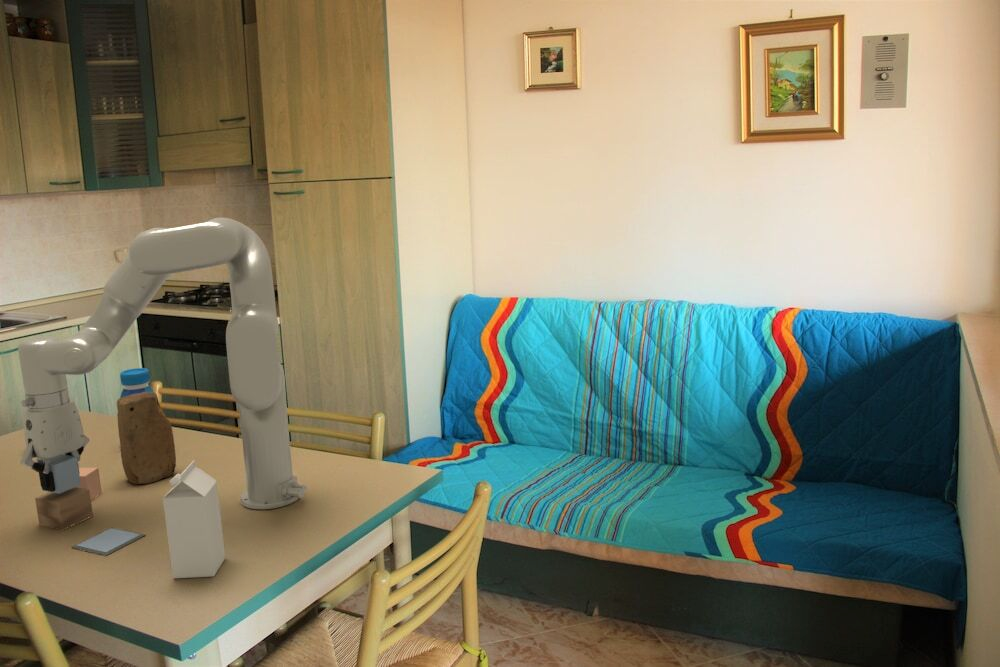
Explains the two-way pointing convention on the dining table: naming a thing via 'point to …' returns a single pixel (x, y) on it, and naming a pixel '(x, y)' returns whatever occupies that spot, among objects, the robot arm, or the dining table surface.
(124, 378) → the beverage bottle
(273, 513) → the dining table surface
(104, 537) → the swatch
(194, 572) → the milk carton
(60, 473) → the slate block
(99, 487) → the terracotta block
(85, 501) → the walnut block
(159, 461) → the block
